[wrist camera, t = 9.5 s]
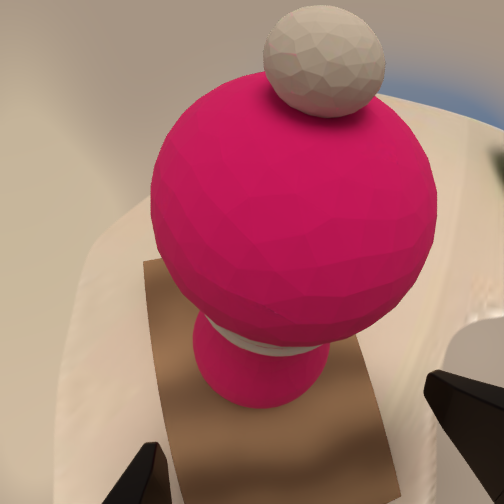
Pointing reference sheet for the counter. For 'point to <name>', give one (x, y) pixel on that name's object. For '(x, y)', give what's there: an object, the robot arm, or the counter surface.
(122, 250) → the counter surface
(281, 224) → the pepper mill
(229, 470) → the walnut board
